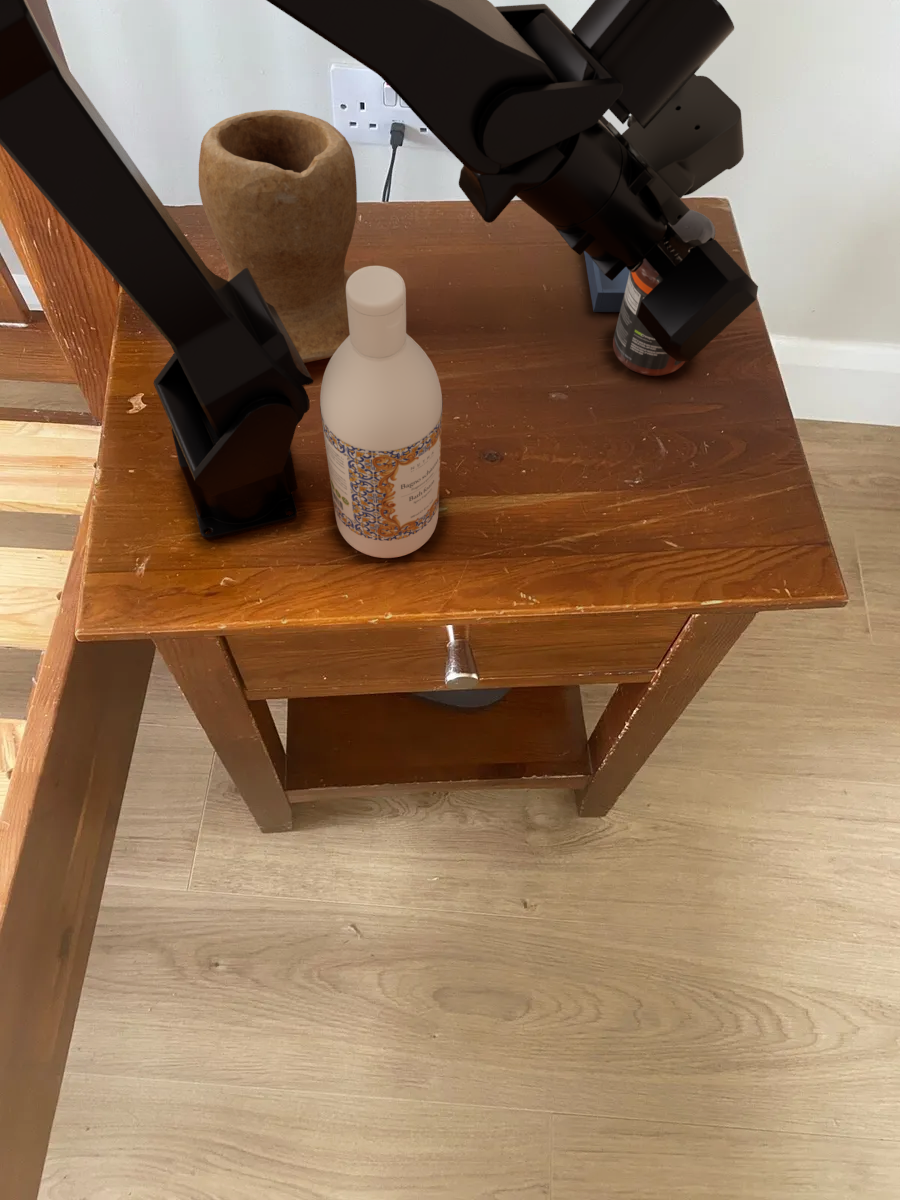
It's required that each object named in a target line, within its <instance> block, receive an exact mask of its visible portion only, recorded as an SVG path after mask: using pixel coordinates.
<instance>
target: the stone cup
mask: <svg viewBox="0 0 900 1200" xmlns="http://www.w3.org/2000/svg"><path fill="white" fill-rule="evenodd" d="M199 152H200V153H199V159H198V189H199V195H200V196H199V197H200V200H201V204H202V207H203V210H204V212H205V215H206V218H207V220H208V223H209V226H210V228H211V230H212V233H213V235H214V238H215V240H216V242H217V244H218V246H219V249H220V251H221V253H222V255H223V257H224V260H225V263H226V266H227V269H228V276H227V277H228V278H227V279H226V280H227V281H230V280H231V279H232V278H233V277H235V276H236V275H237V274H238V273H240V272H241V271H242V270H243V269H245V268H248V270H249V271H250V273H251V275H252V277H253V279H254V281H255V283H256V285H257V287H258V288H259V290H260V292H261V294H262V296H263V298H264V300H265V302H267V303H269V304H270V305H272V306H274V308H275V310H276V312H277V314H278V316H279V317H280V319H281V321H282V323H283V325H284V327H285V329H286V330H287V332H288V334H289V336H290V338H291V340H292V342H293V344H294V345H295V347H296V349H297V351H298V353H299V355H300V357H301V358H302V360H303V362H304V364H305V363H310V362H316V361H319V360H324V359H325V360H326V359H329V358H330V359H331V357H332V356H333V354H334V353H335V351H336V350H337V349H338V348H339V346H340V345H341V344H342V343H343V342H344V341H345V339H346V338H347V337H348V336H349V335H350V332H349V322H348V311H347V299H346V284H347V281H348V279H349V277H350V276H351V275H352V274H353V273H354V272H355V271H352V270H349V269H345V263H346V258H347V254H348V250H349V246H350V245H351V241H352V237H353V233H354V229H355V226H356V225H355V224H356V220H357V212H358V189H357V188H358V187H357V184H358V183H357V171H356V161H355V157H354V154H353V149H352V147H351V145H350V144H349V142H348V140H347V139H346V137H345V135H344V134H342V133H341V132H340V130H338V129H337V128H336V127H335V126H334V125H332V124H331V123H330V122H328V121H326V120H324V119H322V118H320V117H317V116H313V115H309V114H307V113H304V112H298V111H293V110H289V109H265V110H256V111H248V112H243V113H239V114H235V115H233V116H229V117H227V118H224V119H222V120H220V121H219V122H217V123H215V124H214V125H213V126H211V127H210V128H209V129H208V130H207V132H206V133H205V134H204V136H203V138H202V140H201V142H200V149H199Z"/></svg>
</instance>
